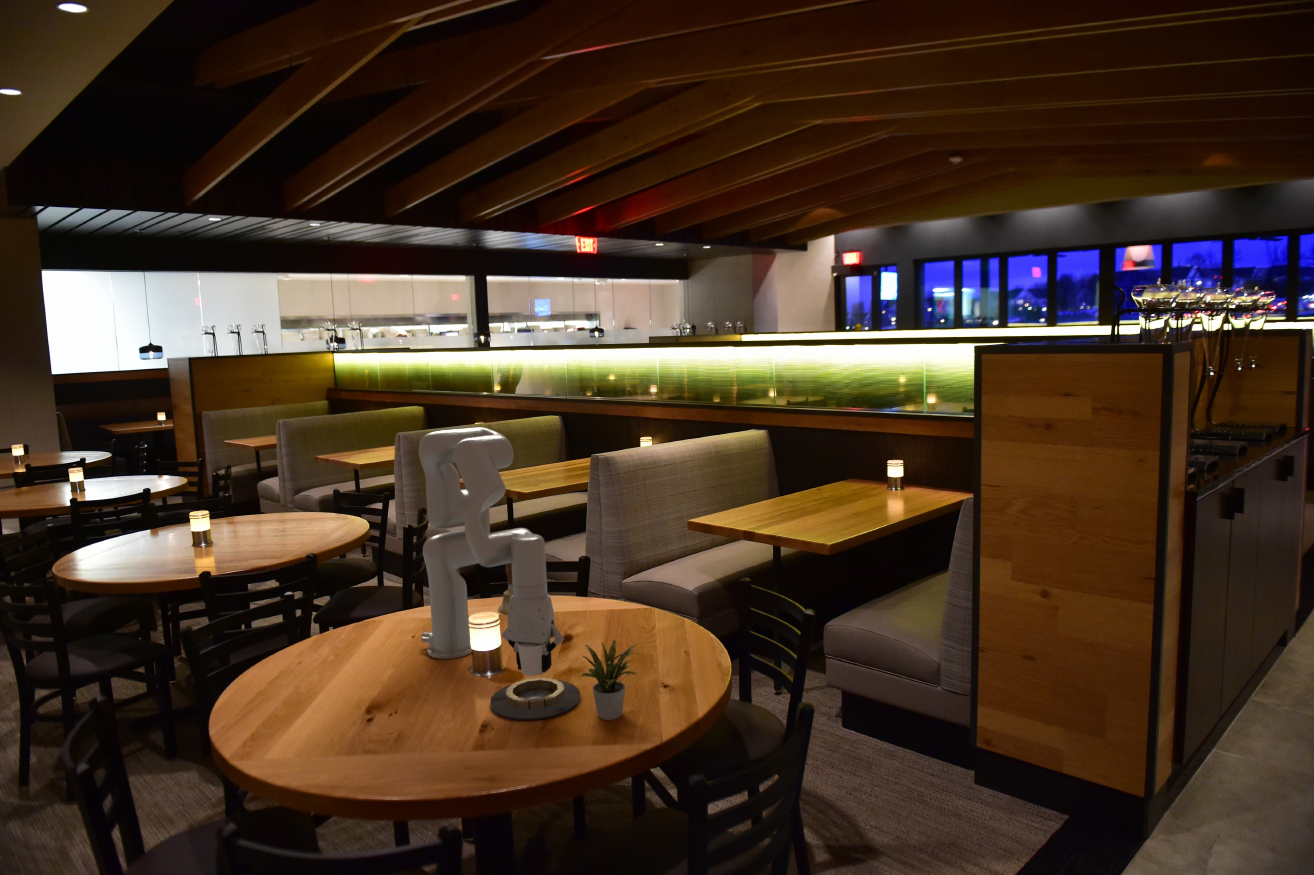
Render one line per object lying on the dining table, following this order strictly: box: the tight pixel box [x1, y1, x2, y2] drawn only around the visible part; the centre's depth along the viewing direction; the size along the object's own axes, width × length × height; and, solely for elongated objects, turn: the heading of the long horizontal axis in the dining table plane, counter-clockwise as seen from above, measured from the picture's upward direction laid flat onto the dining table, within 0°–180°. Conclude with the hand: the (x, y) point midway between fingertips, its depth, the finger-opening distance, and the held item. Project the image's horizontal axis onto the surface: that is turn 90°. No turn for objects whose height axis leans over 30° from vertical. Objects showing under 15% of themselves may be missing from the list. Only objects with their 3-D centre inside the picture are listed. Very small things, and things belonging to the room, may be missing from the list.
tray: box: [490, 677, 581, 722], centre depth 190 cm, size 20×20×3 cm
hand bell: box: [497, 563, 513, 614], centre depth 256 cm, size 8×8×16 cm
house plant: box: [579, 639, 641, 721], centre depth 180 cm, size 14×14×16 cm
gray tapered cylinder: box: [518, 642, 548, 677], centre depth 189 cm, size 7×7×7 cm
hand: (534, 668), depth 190 cm, fingers closed on gray tapered cylinder, 5 cm apart
